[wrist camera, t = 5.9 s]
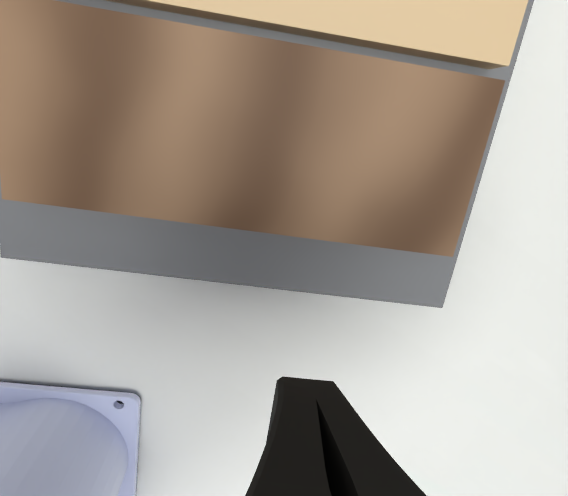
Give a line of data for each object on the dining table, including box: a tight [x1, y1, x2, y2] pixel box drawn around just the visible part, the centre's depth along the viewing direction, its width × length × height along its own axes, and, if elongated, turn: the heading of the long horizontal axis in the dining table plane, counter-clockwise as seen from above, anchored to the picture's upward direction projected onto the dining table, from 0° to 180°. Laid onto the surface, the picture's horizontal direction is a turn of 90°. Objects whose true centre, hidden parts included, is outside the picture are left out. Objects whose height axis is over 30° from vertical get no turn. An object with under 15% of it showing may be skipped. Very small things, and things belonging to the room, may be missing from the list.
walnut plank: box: [0, 0, 505, 257], centre depth 16 cm, size 18×7×1 cm, turn 81°
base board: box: [0, 0, 534, 308], centre depth 16 cm, size 20×18×2 cm
